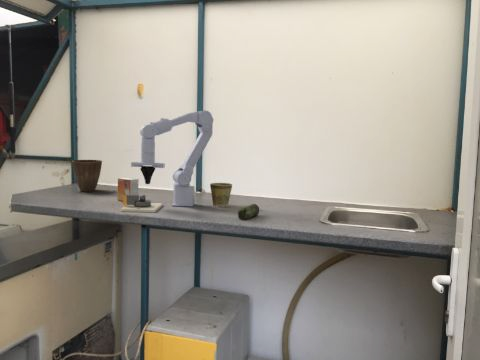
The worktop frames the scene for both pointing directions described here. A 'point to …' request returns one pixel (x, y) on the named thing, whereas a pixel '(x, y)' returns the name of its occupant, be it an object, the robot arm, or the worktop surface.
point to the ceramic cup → (220, 193)
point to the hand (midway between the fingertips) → (147, 183)
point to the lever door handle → (136, 200)
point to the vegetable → (248, 211)
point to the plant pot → (87, 173)
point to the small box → (127, 187)
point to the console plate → (142, 208)
